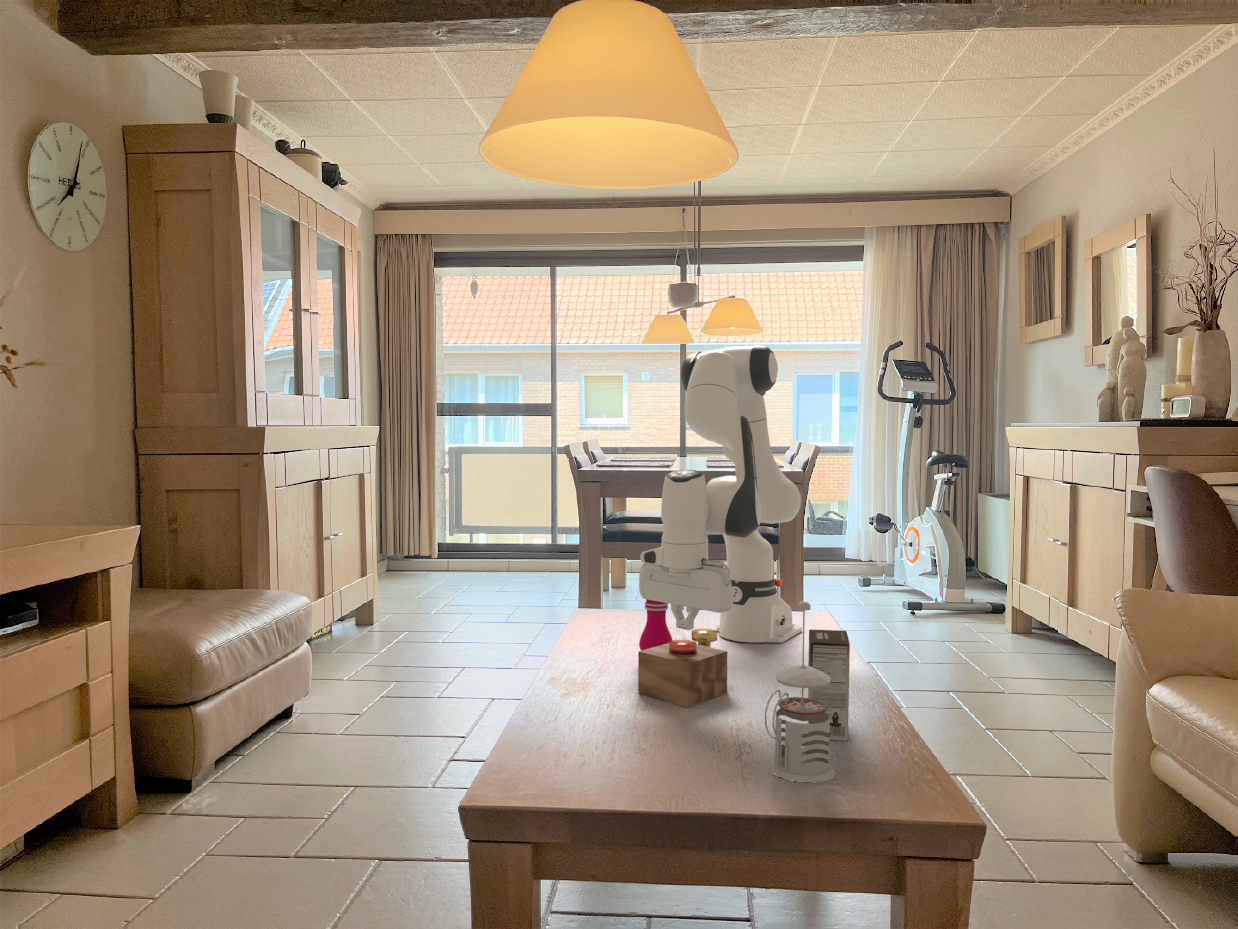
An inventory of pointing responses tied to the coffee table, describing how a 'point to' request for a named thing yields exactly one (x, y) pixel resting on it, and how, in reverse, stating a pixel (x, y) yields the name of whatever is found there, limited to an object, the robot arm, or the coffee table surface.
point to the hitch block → (682, 675)
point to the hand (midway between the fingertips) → (684, 628)
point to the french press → (801, 726)
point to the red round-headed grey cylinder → (682, 647)
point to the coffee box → (832, 677)
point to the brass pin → (704, 636)
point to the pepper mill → (655, 626)
